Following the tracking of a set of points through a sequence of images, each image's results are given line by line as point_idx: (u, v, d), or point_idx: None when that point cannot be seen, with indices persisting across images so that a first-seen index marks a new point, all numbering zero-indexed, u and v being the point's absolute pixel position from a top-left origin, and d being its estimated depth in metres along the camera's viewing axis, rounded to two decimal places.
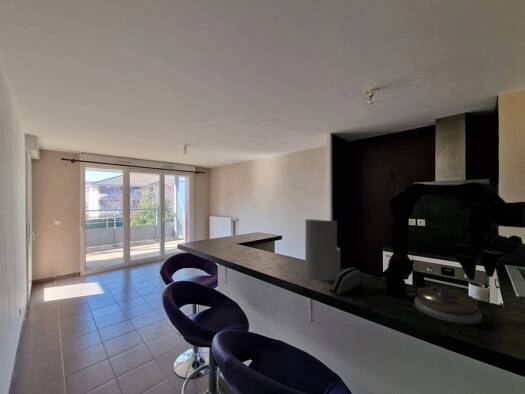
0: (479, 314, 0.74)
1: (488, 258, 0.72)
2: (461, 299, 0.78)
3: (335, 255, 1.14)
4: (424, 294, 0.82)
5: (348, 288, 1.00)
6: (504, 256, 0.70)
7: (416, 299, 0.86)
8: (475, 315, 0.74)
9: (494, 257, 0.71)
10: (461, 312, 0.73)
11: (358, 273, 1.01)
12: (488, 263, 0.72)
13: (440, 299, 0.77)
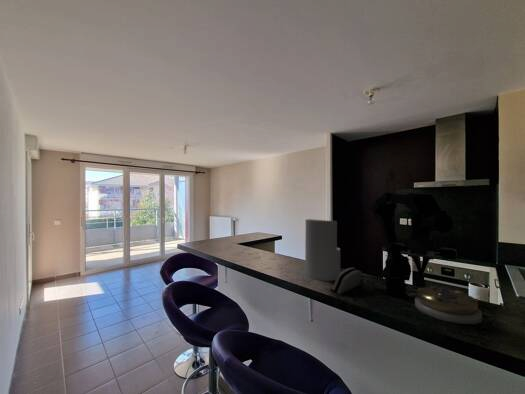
0: (479, 314, 0.74)
1: None
2: (461, 299, 0.78)
3: (335, 255, 1.14)
4: (424, 294, 0.82)
5: (348, 288, 1.00)
6: (428, 259, 0.77)
7: (416, 299, 0.86)
8: (475, 315, 0.74)
9: None
10: (461, 312, 0.73)
11: (358, 273, 1.01)
12: None
13: (440, 299, 0.77)
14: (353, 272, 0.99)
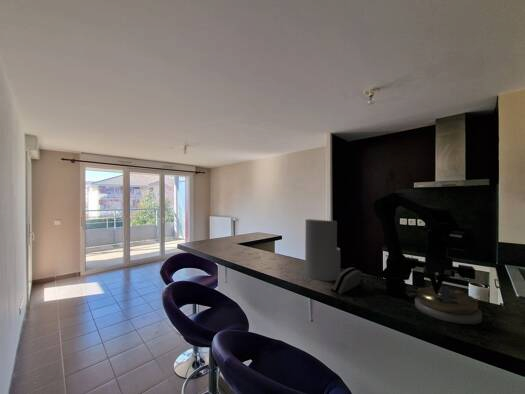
0: (479, 314, 0.74)
1: None
2: (461, 299, 0.78)
3: (335, 255, 1.14)
4: (424, 294, 0.82)
5: (349, 288, 1.00)
6: (444, 276, 0.75)
7: (416, 299, 0.86)
8: (475, 315, 0.74)
9: (438, 276, 0.77)
10: (461, 312, 0.73)
11: (358, 273, 1.02)
12: (437, 281, 0.78)
13: (440, 299, 0.77)
14: (353, 272, 0.99)
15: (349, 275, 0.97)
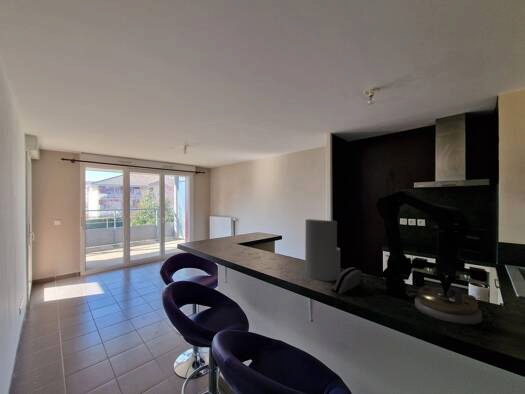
0: (479, 314, 0.74)
1: None
2: (461, 298, 0.79)
3: (335, 255, 1.14)
4: (430, 297, 0.79)
5: (349, 287, 1.00)
6: (453, 278, 0.73)
7: (416, 299, 0.86)
8: (475, 315, 0.74)
9: (447, 277, 0.75)
10: (471, 312, 0.73)
11: (358, 272, 1.02)
12: None
13: (450, 301, 0.76)
14: (354, 272, 0.99)
15: (349, 275, 0.97)
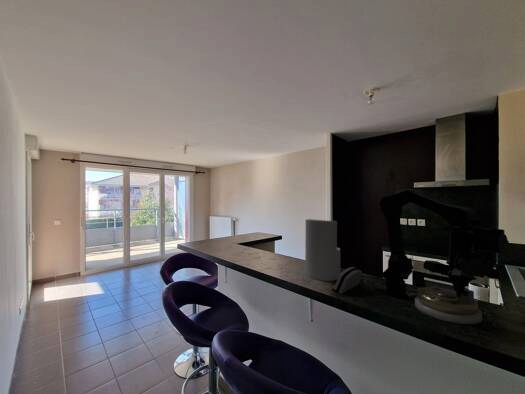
0: (479, 314, 0.74)
1: None
2: None
3: (335, 255, 1.14)
4: (443, 301, 0.76)
5: (349, 287, 1.00)
6: (471, 279, 0.72)
7: (416, 299, 0.86)
8: (475, 315, 0.74)
9: None
10: (477, 309, 0.76)
11: (359, 272, 1.02)
12: None
13: (463, 302, 0.75)
14: (354, 272, 1.00)
15: (350, 275, 0.97)
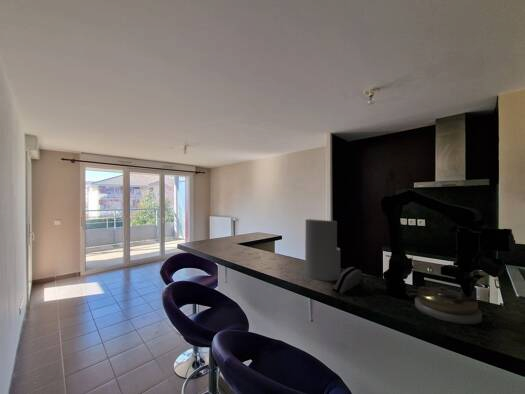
0: (479, 314, 0.74)
1: None
2: (448, 292, 0.84)
3: (335, 255, 1.14)
4: (463, 303, 0.74)
5: (349, 287, 1.01)
6: (481, 277, 0.74)
7: (416, 299, 0.86)
8: (475, 315, 0.74)
9: None
10: None
11: (359, 272, 1.03)
12: None
13: (470, 300, 0.77)
14: (354, 271, 1.00)
15: (350, 274, 0.97)
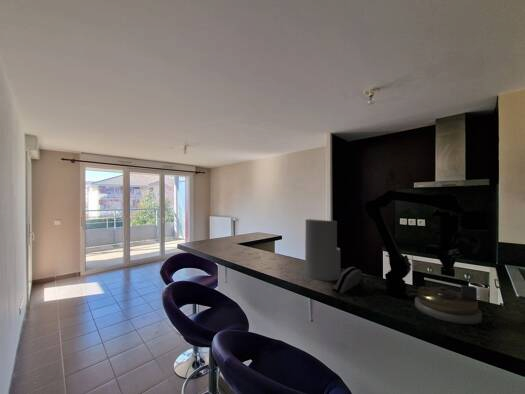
0: (479, 314, 0.74)
1: None
2: (448, 292, 0.84)
3: (335, 255, 1.14)
4: (463, 303, 0.74)
5: (350, 287, 1.01)
6: (460, 255, 0.84)
7: (416, 299, 0.86)
8: (475, 315, 0.74)
9: None
10: None
11: (359, 272, 1.03)
12: None
13: (470, 300, 0.77)
14: (354, 271, 1.00)
15: (350, 274, 0.98)
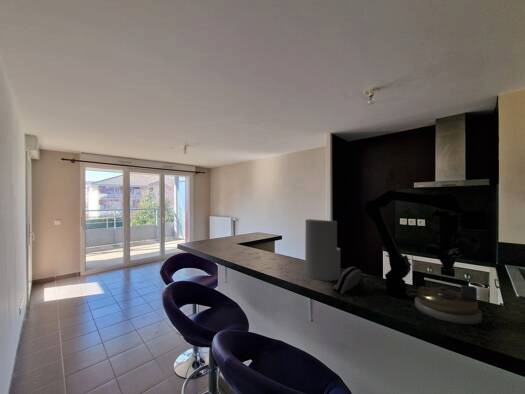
0: (479, 314, 0.74)
1: None
2: (448, 292, 0.84)
3: (335, 255, 1.14)
4: (463, 303, 0.74)
5: (350, 287, 1.01)
6: (460, 255, 0.84)
7: (416, 299, 0.86)
8: (475, 315, 0.74)
9: None
10: None
11: (359, 272, 1.03)
12: None
13: (470, 300, 0.77)
14: (355, 271, 1.00)
15: (351, 274, 0.98)
